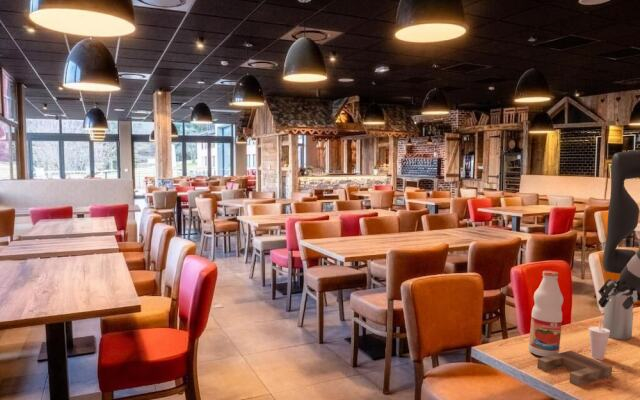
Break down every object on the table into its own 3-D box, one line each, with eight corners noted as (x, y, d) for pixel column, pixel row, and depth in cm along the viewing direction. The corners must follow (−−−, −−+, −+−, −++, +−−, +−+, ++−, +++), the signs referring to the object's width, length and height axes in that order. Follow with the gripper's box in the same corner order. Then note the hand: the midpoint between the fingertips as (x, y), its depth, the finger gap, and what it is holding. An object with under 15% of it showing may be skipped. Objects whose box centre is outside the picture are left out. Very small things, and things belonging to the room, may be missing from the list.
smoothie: (589, 360, 163) (592, 318, 162) (584, 352, 169) (586, 313, 168) (611, 362, 161) (614, 320, 160) (604, 354, 167) (607, 314, 166)
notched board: (570, 359, 163) (570, 350, 163) (611, 375, 151) (612, 366, 150) (537, 367, 156) (537, 358, 155) (578, 386, 143) (578, 376, 143)
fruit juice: (550, 349, 172) (558, 270, 171) (563, 359, 162) (571, 275, 161) (524, 347, 172) (530, 268, 171) (535, 357, 163) (542, 273, 161)
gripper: (653, 263, 152) (625, 299, 161) (612, 259, 150) (586, 295, 159) (668, 281, 146) (639, 317, 155) (626, 277, 144) (598, 313, 153)
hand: (612, 306), depth 157 cm, fingers open, 8 cm apart
